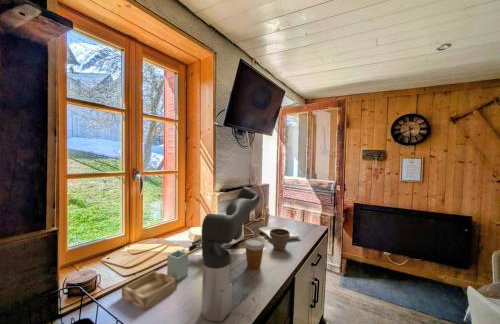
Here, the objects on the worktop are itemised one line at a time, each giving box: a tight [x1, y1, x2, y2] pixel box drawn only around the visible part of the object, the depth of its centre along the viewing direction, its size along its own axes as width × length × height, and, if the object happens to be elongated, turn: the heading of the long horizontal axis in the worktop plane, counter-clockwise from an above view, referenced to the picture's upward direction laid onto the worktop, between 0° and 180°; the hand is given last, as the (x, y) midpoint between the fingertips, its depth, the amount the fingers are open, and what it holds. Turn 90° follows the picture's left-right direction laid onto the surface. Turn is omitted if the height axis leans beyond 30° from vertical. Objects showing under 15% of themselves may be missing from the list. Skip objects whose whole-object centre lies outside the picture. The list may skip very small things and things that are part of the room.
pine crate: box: [121, 269, 178, 311], centre depth 84 cm, size 13×14×4 cm
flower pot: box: [270, 229, 290, 252], centre depth 128 cm, size 12×11×10 cm
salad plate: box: [258, 225, 301, 241], centre depth 150 cm, size 21×21×3 cm
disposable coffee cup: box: [244, 238, 265, 271], centre depth 107 cm, size 10×10×12 cm
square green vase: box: [166, 249, 189, 283], centre depth 96 cm, size 6×6×10 cm
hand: (196, 251), depth 106 cm, fingers open, 8 cm apart
